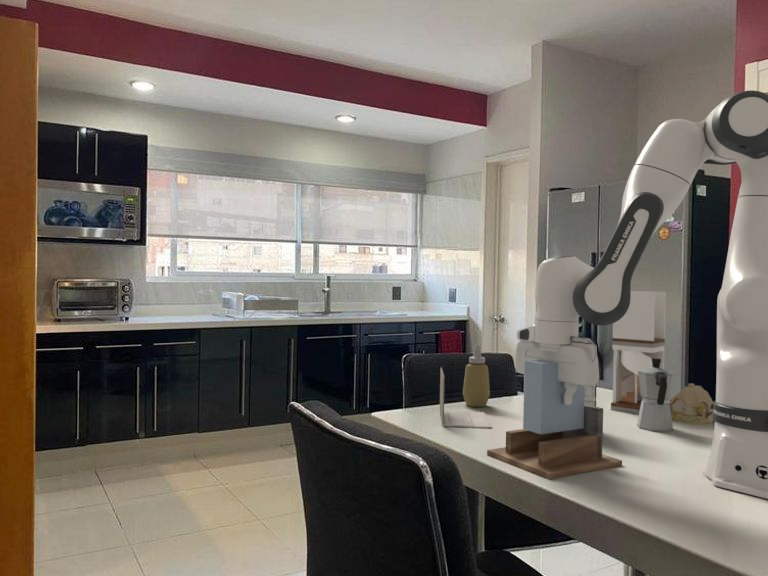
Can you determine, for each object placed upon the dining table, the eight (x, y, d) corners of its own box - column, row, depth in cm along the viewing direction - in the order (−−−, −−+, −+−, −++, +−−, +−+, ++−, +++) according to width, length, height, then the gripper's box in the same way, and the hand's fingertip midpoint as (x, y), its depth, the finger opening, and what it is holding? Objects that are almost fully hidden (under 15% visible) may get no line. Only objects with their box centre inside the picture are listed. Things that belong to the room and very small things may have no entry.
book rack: (621, 465, 123) (623, 410, 123) (549, 479, 113) (550, 420, 113) (556, 444, 139) (557, 395, 139) (487, 454, 129) (488, 402, 129)
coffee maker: (631, 421, 164) (633, 354, 164) (666, 423, 163) (668, 356, 162) (643, 434, 150) (645, 361, 150) (682, 437, 148) (684, 363, 148)
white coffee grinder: (610, 409, 180) (613, 290, 179) (623, 404, 188) (626, 291, 187) (651, 415, 172) (654, 291, 172) (663, 410, 180) (665, 291, 180)
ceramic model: (689, 425, 162) (690, 387, 161) (656, 416, 172) (656, 381, 172) (727, 422, 167) (728, 385, 167) (692, 413, 177) (693, 379, 177)
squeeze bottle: (462, 402, 186) (463, 343, 186) (489, 403, 185) (490, 344, 185) (462, 407, 178) (463, 345, 178) (490, 408, 177) (491, 346, 177)
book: (583, 428, 127) (585, 361, 127) (540, 434, 121) (542, 363, 121) (565, 423, 131) (566, 358, 131) (523, 428, 125) (524, 360, 125)
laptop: (492, 430, 153) (493, 378, 153) (441, 428, 153) (442, 376, 153) (484, 414, 171) (485, 368, 171) (439, 413, 171) (440, 367, 171)
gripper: (607, 338, 118) (605, 409, 119) (532, 330, 136) (531, 392, 136) (584, 339, 115) (582, 412, 115) (511, 330, 133) (509, 394, 133)
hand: (554, 401), depth 126 cm, fingers closed on book, 5 cm apart
